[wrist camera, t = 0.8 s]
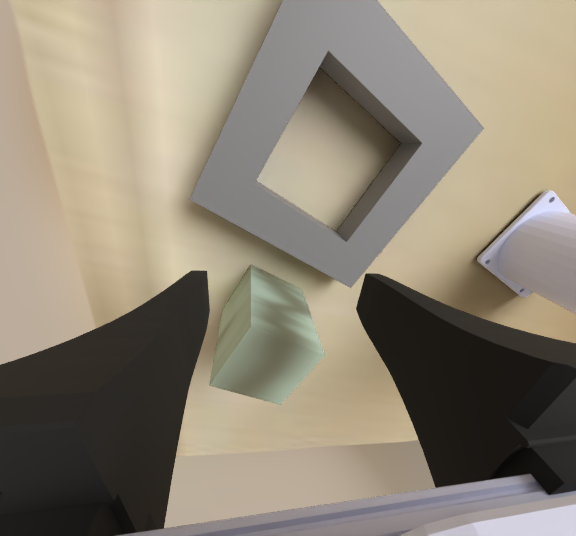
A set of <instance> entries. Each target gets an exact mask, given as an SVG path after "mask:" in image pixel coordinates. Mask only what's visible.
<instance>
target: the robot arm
mask: <svg viewBox="0 0 576 536" xmlns="http://www.w3.org/2000/svg"><path fill="white" fill-rule="evenodd" d="M477 261H478V263H480V264H481V265H482V266H483V267H485V268H486V269H487V270H488V271H490V272H491V273H492V274H493V275H495V276H496V277H497V278H498V279H500V280H501V281H502V282H503V283H504V284H506V285H507V286H508V287H509V288H511V289H512V290H513V291H514V292H516V293H517V294H518V295H519V296H521V297H527V296H528V295H530V294H531V293H532V292H534V293H536V294H538V295H540V296H542V297H544V298H546V299H548V300H549V301H551V302H553V303H555V304H557V305H559V306H561V307H563V308H565V309H567V310H569V311H571V312H572V313H574V314H576V215H574V214H571V213H570V212H569V210H568V209H567V208H566V206H565V205H564V204H563V203H562V201H561V200H560V199H559V198H558V196H557V195H556V194H555V193H554V192H553V191H549V190H547V191H544V192H543V193H542V194H541V195H540V196H539V197H538V198H537V199H536V200H535V201H534V202H533V203H532V204H531V205H530V206H529V207H528V208H527V209H526V210H525V211H524V212H523V213H522V214H521V215H520V216H519V217H518V218H517V219H516V220H515V221H514V222H513V223H512V224H511V225H510V226H509V227H508V228H507V229H506V230H505V231H504V232H503V233H502V234H501V235H500V236H499V237H498V238H497V239H496V240H495V241H494V242H493V243H492V244H491V245H490V246H489V247H488V248H487V249H486V250H485V251H484V252H483V253H481V254H480V255H479V257H478V258H477ZM356 310H357V312H358V315H359V318H360V320H361V323H362V325H363V327H364V329H365V331H366V333H367V334H368V336H369V338H370V339H371V341H372V343H373V345H374V346H375V348H376V350H377V351H378V353H379V355H380V356H381V358H382V360H383V361H384V363H385V365H386V366H387V368H388V370H389V372H390V374H391V376H392V378H393V380H394V382H395V384H396V386H397V388H398V391H399V393H400V395H401V397H402V399H403V402H404V404H405V407H406V409H407V411H408V414H409V416H410V418H411V421H412V423H413V426H414V428H415V431H416V434H417V436H418V439H419V441H420V444H421V447H422V449H423V452H424V455H425V458H426V461H427V463H428V466H429V469H430V472H431V475H432V478H433V481H434V484H435V487H436V488H432V489H425V490H419V491H412V492H405V493H398V494H391V495H385V496H378V497H371V498H364V499H358V500H351V501H344V502H338V503H332V504H324V505H318V506H311V507H305V508H298V509H291V510H284V511H278V512H271V513H265V514H257V515H251V516H245V517H238V518H231V519H224V520H217V521H211V522H204V523H197V524H191V525H184V526H177V527H171V528H164V523H165V516H166V511H167V505H168V498H169V492H170V485H171V479H172V474H173V468H174V463H175V457H176V451H177V446H178V440H179V435H180V430H181V425H182V419H183V414H184V409H185V404H186V399H187V394H188V390H189V386H190V382H191V378H192V375H193V372H194V369H195V365H196V362H197V359H198V356H199V353H200V349H201V346H202V343H203V340H204V336H205V333H206V329H207V324H208V318H209V311H210V308H209V294H208V279H207V271H190V272H189V273H187V274H186V275H185V276H183V277H182V278H181V279H179V280H178V281H177V282H175V283H174V284H172V285H171V286H170V287H168V288H167V289H166V290H164V291H163V292H161V293H160V294H158V295H157V296H155V297H154V298H152V299H150V300H149V301H147V302H146V303H144V304H143V305H141V306H139V307H138V308H136V309H134V310H133V311H131V312H129V313H127V314H125V315H123V316H121V317H119V318H118V319H116V320H114V321H112V322H110V323H108V324H105V325H103V326H101V327H99V328H96V329H94V330H92V331H90V332H87V333H85V334H83V335H81V336H79V337H76V338H74V339H71V340H69V341H66V342H64V343H61V344H59V345H56V346H54V347H51V348H48V349H46V350H43V351H40V352H37V353H35V354H32V355H29V356H26V357H23V358H20V359H18V360H15V361H11V362H8V363H5V364H2V365H0V536H576V344H575V343H570V342H566V341H561V340H556V339H552V338H548V337H544V336H540V335H536V334H532V333H528V332H525V331H521V330H517V329H514V328H510V327H507V326H504V325H501V324H497V323H494V322H491V321H488V320H485V319H482V318H479V317H476V316H473V315H471V314H468V313H465V312H463V311H460V310H457V309H455V308H452V307H450V306H448V305H445V304H443V303H441V302H439V301H436V300H434V299H432V298H430V297H428V296H425V295H423V294H421V293H419V292H417V291H415V290H413V289H411V288H409V287H407V286H405V285H403V284H401V283H399V282H397V281H394V280H392V279H390V278H388V277H386V276H383V275H380V274H365V278H364V282H363V285H362V289H361V293H360V297H359V300H358V304H357V308H356Z"/></svg>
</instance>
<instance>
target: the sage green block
mask: <svg viewBox="0 0 576 536" xmlns="http://www.w3.org/2000/svg"><path fill="white" fill-rule="evenodd" d="M324 356H325V353H324V350H323V348H322V345H321V342H320V339H319V336H318V333H317V330H316V328H315V325H314V322H313V319H312V316H311V313H310V311H309V308H308V305H307V302H306V299H305V296H304V294H303V291H302V289H300V288H298V287H296V286H294V285H291V284H289V283H287V282H285V281H283V280H281V279H279V278H277V277H275V276H273V275H271V274H269V273H267V272H265V271H263V270H261V269H259V268H257V267H255V266H253V265H250V267H249V269H248V270H247V272H246V273H245V275H244V277H243V278H242V280H241V281H240V283H239V285H238V286H237V288H236V289H235V291H234V293H233V294H232V296H231V297H230V299H229V301H228V302H227V304H226V305H225V307H224V308H223V310H222V316H221V321H220V327H219V333H218V339H217V344H216V350H215V356H214V361H213V367H212V373H211V379H210V384H209V386H213V387H217V388H220V389H224V390H228V391H231V392H235V393H239V394H242V395H246V396H250V397H253V398H257V399H261V400H264V401H268V402H272V403H276V404H279V405H281V404H282V403H283V402H284V401H285V399H286V398H287V397H288V396H289V395H290V394H291V393H292V392H293V391H294V389H295V388H296V387H297V386H298V385H299V384H300V383H301V382H302V380H303V379H304V378H305V377H306V376H307V375H308V374H309V373H310V372H311V370H312V369H313V368H314V367H315V366H316V365H317V364H318V363H319V362H320V360H321V359H322V358H323V357H324Z"/></svg>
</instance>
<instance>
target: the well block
mask: <svg viewBox="0 0 576 536" xmlns="http://www.w3.org/2000/svg"><path fill="white" fill-rule="evenodd" d="M319 67H320V68H321V69H322V70H323V71H324V72H325V73H327V74H328V75H329V76H330V77H331V78H332V79H333V80H334V81H335V82H336V83H337V84H338V85H339V86H340V87H341V88H343V89H344V90H345V91H346V92H347V93H348V94H349V95H350V96H351V97H352V98H353V99H354V100H355V101H356V102H357V103H359V104H360V105H361V106H362V107H363V108H364V109H365V110H366V111H367V112H368V113H369V114H370V115H371V116H372V117H374V118H375V119H376V120H377V121H378V122H379V123H380V124H381V125H382V126H383V127H384V128H385V129H386V130H387V131H388V132H390V133H391V134H392V135H393V136H394V137H395V138H396V139H397V140H398V141H399V142H400V143H401V144H400V146H399V147H398V148H397V150H396V151H395V152H394V154H393V155H392V157H391V158H390V159H389V161H388V162H387V163H386V165H385V166H384V167H383V169H382V170H381V172H380V173H379V174H378V176H377V177H376V178H375V180H374V181H373V182H372V184H371V185H370V187H369V188H368V189H367V191H366V192H365V193H364V195H363V196H362V197H361V199H360V200H359V202H358V203H357V204H356V206H355V207H354V208H353V210H352V211H351V212H350V214H349V215H348V217H347V218H346V219H345V221H344V222H343V223H342V225H341V226H340V227H339V229H338V230H337V232H336V231H334V230H332V229H331V228H329V227H328V226H326V225H325V224H323V223H322V222H320V221H318V220H317V219H315V218H314V217H312V216H311V215H309V214H308V213H306V212H304V211H303V210H301V209H300V208H298V207H297V206H295V205H293V204H292V203H290V202H289V201H287V200H286V199H284V198H283V197H281V196H279V195H278V194H276V193H275V192H273V191H272V190H270V189H269V188H267V187H265V186H264V185H262V184H261V183H259V182H258V181H256V180H257V178H258V176H259V174H260V172H261V171H262V169H263V167H264V165H265V163H266V162H267V160H268V158H269V156H270V154H271V153H272V151H273V149H274V147H275V145H276V144H277V142H278V140H279V138H280V136H281V135H282V133H283V131H284V129H285V127H286V126H287V124H288V122H289V120H290V118H291V117H292V115H293V113H294V111H295V110H296V108H297V106H298V104H299V102H300V101H301V99H302V97H303V95H304V93H305V92H306V90H307V88H308V86H309V84H310V83H311V81H312V79H313V77H314V75H315V74H316V72H317V70H318V68H319ZM483 129H484V127H483V126H482V125H481V124H480V123H479V121H478V120H477V119H476V118H475V117H474V116H473V114H472V113H471V112H470V111H469V110H468V108H467V107H466V106H465V105H464V104H463V102H462V101H461V100H460V99H459V98H458V96H457V95H456V94H455V93H454V92H453V90H452V89H451V88H450V87H449V86H448V84H447V83H446V82H445V81H444V80H443V78H442V77H441V76H440V75H439V74H438V73H437V71H436V70H435V69H434V68H433V67H432V65H431V64H430V63H429V62H428V61H427V59H426V58H425V57H424V56H423V55H422V53H421V52H420V51H419V50H418V49H417V47H416V46H415V45H414V44H413V43H412V41H411V40H410V39H409V38H408V37H407V36H406V34H405V33H404V32H403V31H402V30H401V28H400V27H399V26H398V25H397V24H396V22H395V21H394V20H393V19H392V18H391V16H390V15H389V14H388V13H387V12H386V10H385V9H384V8H383V7H382V6H381V4H380V3H379V2H378V1H377V0H283V1H282V3H281V6H280V8H279V10H278V12H277V14H276V16H275V18H274V20H273V23H272V25H271V27H270V29H269V31H268V33H267V35H266V38H265V40H264V42H263V44H262V46H261V48H260V50H259V52H258V55H257V57H256V59H255V61H254V63H253V65H252V67H251V69H250V72H249V74H248V76H247V78H246V80H245V82H244V84H243V87H242V89H241V91H240V93H239V95H238V97H237V99H236V101H235V104H234V106H233V108H232V110H231V112H230V114H229V116H228V119H227V121H226V123H225V125H224V127H223V129H222V131H221V133H220V136H219V138H218V140H217V142H216V144H215V146H214V148H213V150H212V153H211V155H210V157H209V159H208V161H207V163H206V165H205V168H204V170H203V172H202V174H201V176H200V178H199V180H198V182H197V185H196V187H195V189H194V191H193V193H192V195H191V197H190V200H191V201H193V202H195V203H197V204H199V205H200V206H202V207H204V208H206V209H208V210H209V211H211V212H213V213H215V214H217V215H219V216H220V217H222V218H224V219H226V220H228V221H230V222H231V223H233V224H235V225H237V226H239V227H241V228H242V229H244V230H246V231H248V232H250V233H251V234H253V235H255V236H257V237H259V238H261V239H262V240H264V241H266V242H268V243H270V244H272V245H273V246H275V247H277V248H279V249H281V250H283V251H284V252H286V253H288V254H290V255H292V256H293V257H295V258H297V259H299V260H301V261H303V262H304V263H306V264H308V265H310V266H312V267H314V268H315V269H317V270H319V271H321V272H323V273H325V274H326V275H328V276H330V277H332V278H334V279H336V280H337V281H339V282H341V283H343V284H345V285H346V286H348V287H350V288H351V287H352V286H353V285H354V284H355V282H356V281H357V280H358V279H359V278H360V276H361V275H362V274H363V273H364V272H365V270H366V269H367V268H368V267H369V266H370V264H371V263H372V262H373V261H374V260H375V258H376V257H377V256H378V255H379V254H380V252H381V251H382V250H383V249H384V248H385V246H386V245H387V244H388V243H389V242H390V240H391V239H392V238H393V237H394V236H395V234H396V233H397V232H398V231H399V230H400V228H401V227H402V226H403V225H404V224H405V222H406V221H407V220H408V219H409V218H410V216H411V215H412V214H413V213H414V212H415V210H416V209H417V208H418V207H419V206H420V204H421V203H422V202H423V201H424V200H425V198H426V197H427V196H428V195H429V194H430V192H431V191H432V190H433V189H434V188H435V186H436V185H437V184H438V183H439V182H440V180H441V179H442V178H443V177H444V176H445V174H446V173H447V172H448V171H449V170H450V168H451V167H452V166H453V165H454V164H455V162H456V161H457V160H458V159H459V158H460V157H461V155H462V154H463V153H464V152H465V151H466V149H467V148H468V147H469V146H470V145H471V143H472V142H473V141H474V140H475V139H476V137H477V136H478V135H479V134H480V133H481V131H482V130H483Z"/></svg>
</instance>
